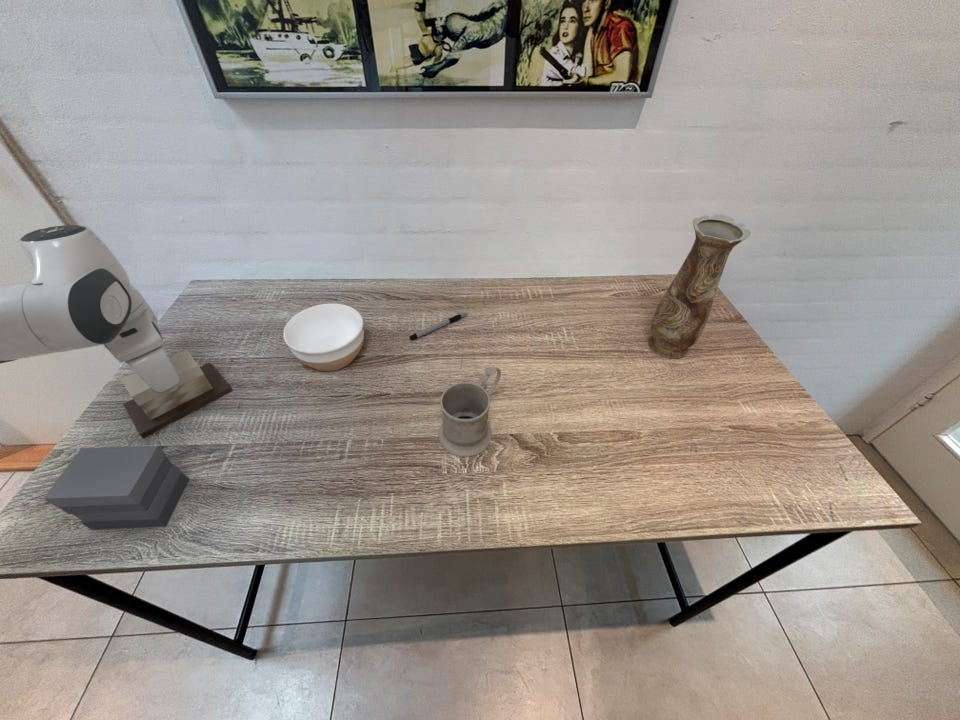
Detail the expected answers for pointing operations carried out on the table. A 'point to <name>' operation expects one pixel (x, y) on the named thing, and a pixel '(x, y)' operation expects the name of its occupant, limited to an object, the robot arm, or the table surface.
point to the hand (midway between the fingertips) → (165, 378)
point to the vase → (694, 286)
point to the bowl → (325, 336)
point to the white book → (145, 393)
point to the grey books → (119, 487)
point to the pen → (437, 326)
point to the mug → (472, 402)
